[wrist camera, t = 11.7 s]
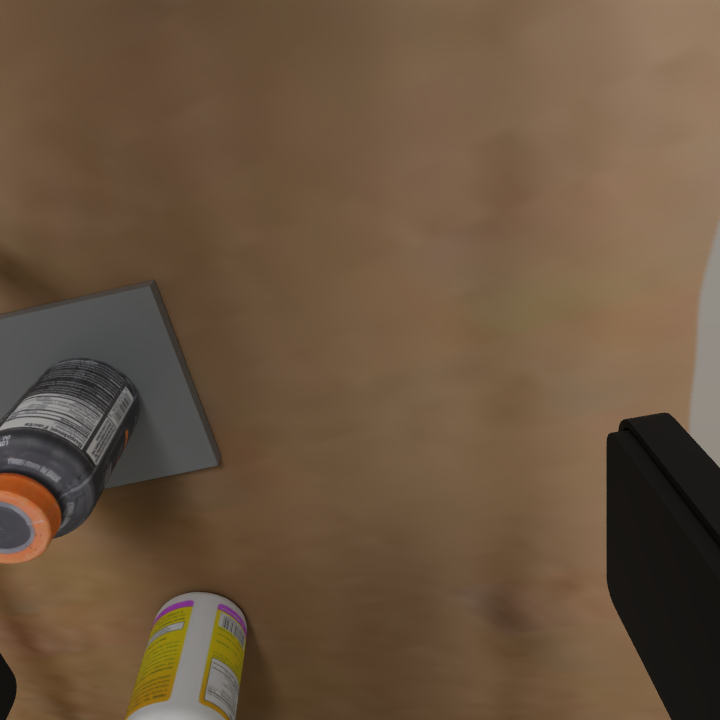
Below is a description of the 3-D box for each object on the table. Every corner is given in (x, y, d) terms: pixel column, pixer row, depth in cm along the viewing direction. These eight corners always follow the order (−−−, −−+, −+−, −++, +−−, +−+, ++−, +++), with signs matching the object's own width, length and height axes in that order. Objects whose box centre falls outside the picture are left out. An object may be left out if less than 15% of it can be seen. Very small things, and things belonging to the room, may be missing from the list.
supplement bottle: (148, 643, 47) (89, 834, 36) (165, 578, 45) (107, 762, 33) (237, 660, 48) (207, 850, 37) (259, 597, 46) (234, 782, 34)
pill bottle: (92, 460, 39) (7, 604, 29) (15, 392, 37) (-107, 523, 27) (163, 407, 38) (101, 540, 27) (87, 334, 35) (-11, 449, 25)
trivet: (-50, 325, 36) (-60, 332, 35) (154, 280, 35) (149, 285, 34) (41, 493, 41) (34, 503, 40) (220, 456, 40) (218, 465, 39)
